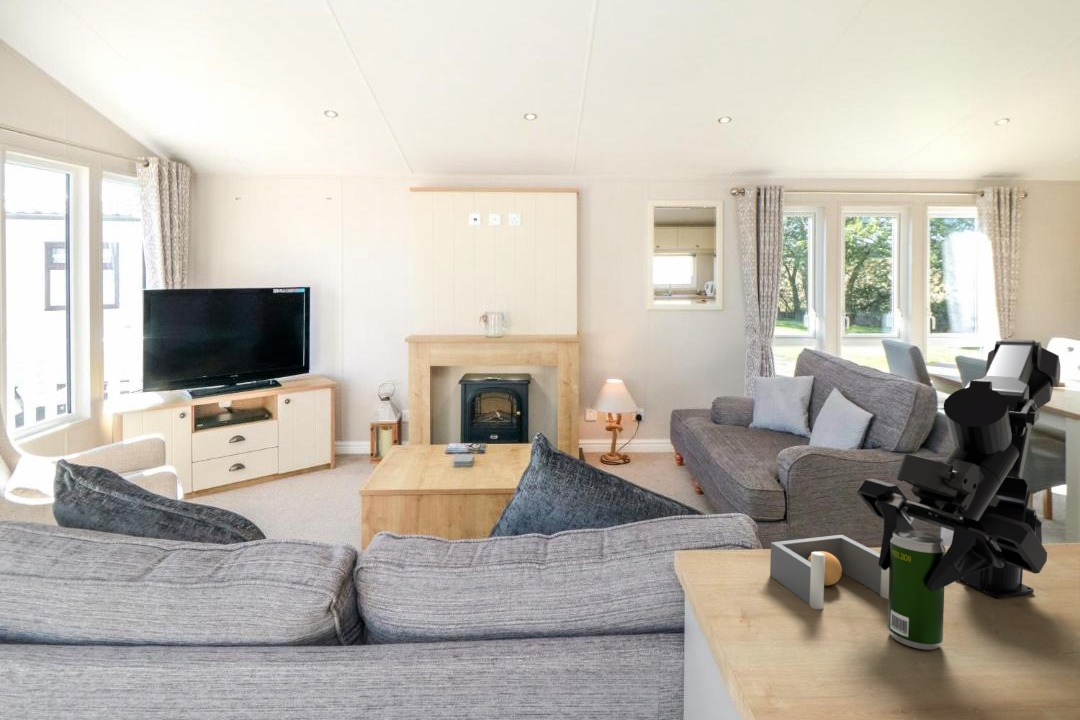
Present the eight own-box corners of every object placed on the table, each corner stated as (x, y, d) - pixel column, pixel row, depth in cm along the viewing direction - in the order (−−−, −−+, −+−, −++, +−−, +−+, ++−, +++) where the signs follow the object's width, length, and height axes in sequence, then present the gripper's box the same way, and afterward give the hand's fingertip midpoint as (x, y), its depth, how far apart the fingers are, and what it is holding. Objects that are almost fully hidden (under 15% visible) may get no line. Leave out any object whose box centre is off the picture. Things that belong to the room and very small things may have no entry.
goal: (842, 566, 85) (844, 521, 85) (897, 598, 76) (899, 547, 75) (768, 576, 82) (769, 529, 82) (815, 610, 73) (817, 557, 72)
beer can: (926, 655, 62) (930, 546, 62) (877, 633, 67) (880, 532, 67) (952, 644, 65) (955, 539, 65) (903, 624, 70) (906, 526, 70)
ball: (830, 542, 82) (853, 564, 78) (822, 567, 83) (844, 590, 79) (803, 546, 80) (825, 568, 76) (796, 571, 82) (817, 594, 78)
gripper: (869, 417, 75) (803, 510, 71) (1038, 448, 57) (960, 572, 54) (908, 469, 78) (846, 560, 75) (1077, 513, 61) (1007, 634, 58)
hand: (904, 578), depth 65 cm, fingers closed on beer can, 5 cm apart
